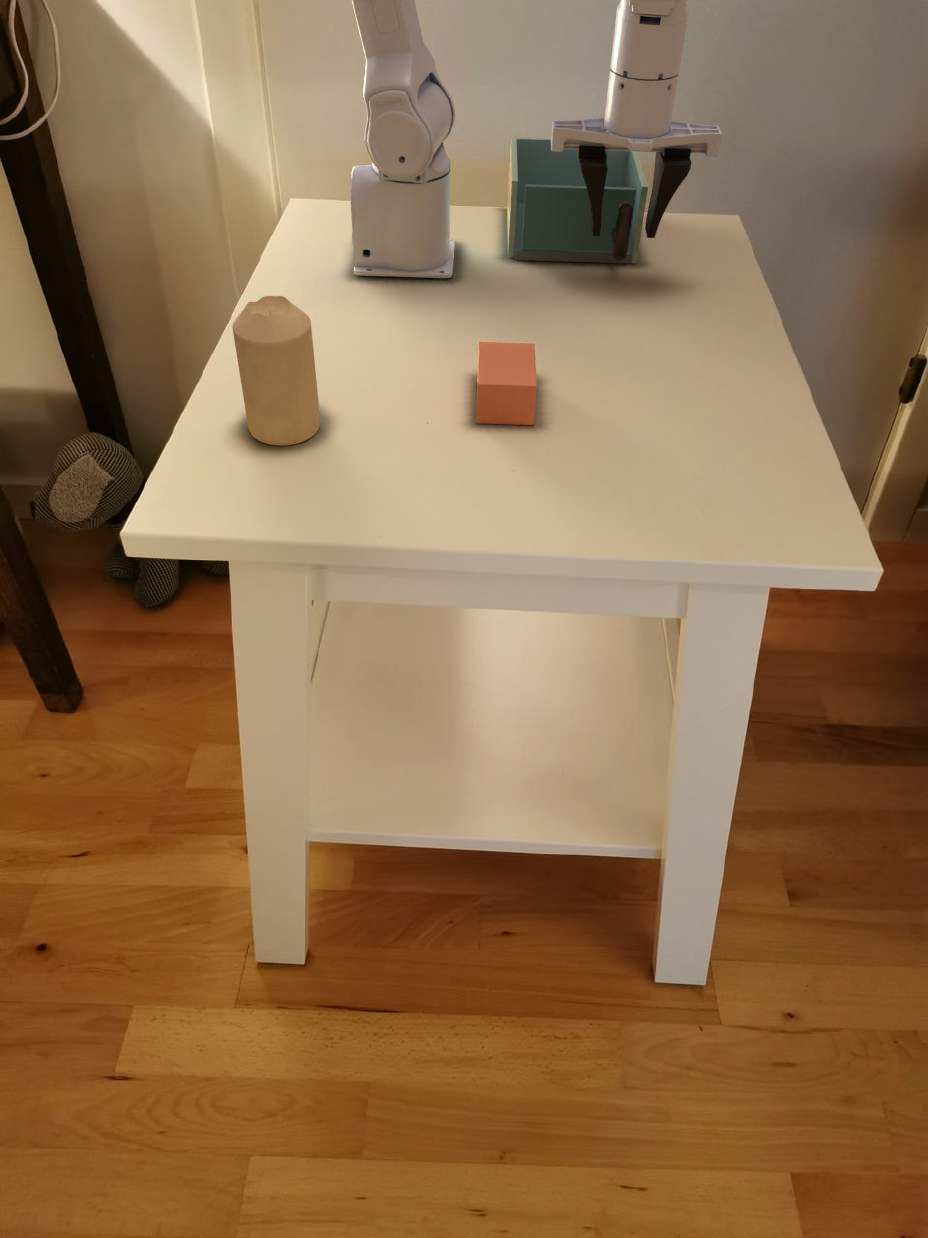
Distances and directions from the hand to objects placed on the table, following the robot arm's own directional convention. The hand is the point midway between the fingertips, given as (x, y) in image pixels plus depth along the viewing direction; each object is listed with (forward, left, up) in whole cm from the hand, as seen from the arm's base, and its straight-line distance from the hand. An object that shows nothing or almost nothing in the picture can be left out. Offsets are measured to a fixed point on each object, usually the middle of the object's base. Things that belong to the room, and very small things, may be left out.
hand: (622, 232), depth 90 cm
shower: (-4, +11, -5) cm, 13 cm away
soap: (-11, -22, -5) cm, 25 cm away
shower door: (-4, +2, -4) cm, 6 cm away
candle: (-28, -26, -5) cm, 39 cm away
